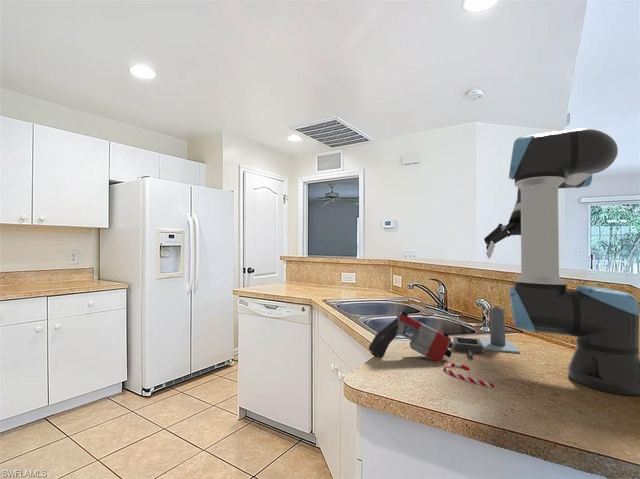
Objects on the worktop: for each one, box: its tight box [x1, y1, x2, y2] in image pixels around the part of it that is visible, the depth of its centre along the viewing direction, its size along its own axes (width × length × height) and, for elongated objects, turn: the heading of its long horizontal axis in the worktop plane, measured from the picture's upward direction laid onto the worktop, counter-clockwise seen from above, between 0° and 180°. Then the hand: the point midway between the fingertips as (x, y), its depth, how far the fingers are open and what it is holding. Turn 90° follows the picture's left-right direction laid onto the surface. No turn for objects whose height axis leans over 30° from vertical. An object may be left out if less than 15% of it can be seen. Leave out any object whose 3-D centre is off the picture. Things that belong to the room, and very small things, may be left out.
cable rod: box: [489, 303, 506, 346], centre depth 110 cm, size 4×4×13 cm
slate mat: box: [478, 337, 521, 355], centre depth 110 cm, size 12×10×1 cm
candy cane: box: [443, 362, 497, 389], centre depth 85 cm, size 8×1×15 cm
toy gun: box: [368, 310, 453, 363], centre depth 99 cm, size 5×22×15 cm, turn 79°
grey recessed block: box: [452, 336, 484, 360], centre depth 104 cm, size 14×8×2 cm, turn 162°
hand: (508, 256), depth 117 cm, fingers open, 13 cm apart
